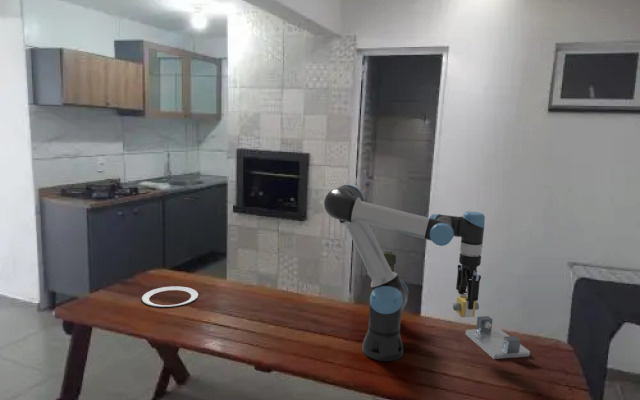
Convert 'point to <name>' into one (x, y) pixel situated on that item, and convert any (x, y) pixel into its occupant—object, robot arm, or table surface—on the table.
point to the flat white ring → (150, 293)
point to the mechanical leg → (390, 259)
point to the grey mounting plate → (496, 340)
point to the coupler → (463, 306)
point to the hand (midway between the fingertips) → (464, 313)
